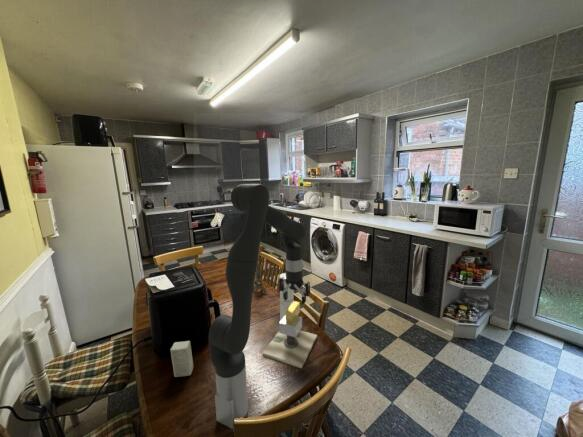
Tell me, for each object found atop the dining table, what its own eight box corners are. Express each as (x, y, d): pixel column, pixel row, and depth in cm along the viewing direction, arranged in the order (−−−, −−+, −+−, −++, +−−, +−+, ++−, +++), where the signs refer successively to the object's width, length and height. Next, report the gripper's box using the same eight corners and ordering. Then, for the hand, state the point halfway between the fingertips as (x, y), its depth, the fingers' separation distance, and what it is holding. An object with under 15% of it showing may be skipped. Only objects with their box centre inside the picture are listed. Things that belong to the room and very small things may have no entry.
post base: (301, 368, 93) (301, 343, 91) (262, 355, 100) (261, 331, 98) (317, 337, 111) (317, 315, 109) (283, 327, 118) (282, 307, 116)
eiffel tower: (249, 290, 158) (247, 255, 153) (264, 287, 162) (263, 252, 158) (253, 297, 148) (251, 260, 144) (269, 294, 152) (267, 257, 148)
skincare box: (193, 366, 95) (191, 340, 93) (190, 376, 90) (187, 348, 88) (177, 368, 94) (174, 341, 92) (173, 377, 90) (169, 349, 88)
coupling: (295, 337, 99) (295, 316, 98) (279, 332, 103) (279, 312, 101) (304, 322, 109) (304, 303, 107) (289, 319, 112) (289, 299, 110)
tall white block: (292, 324, 121) (291, 279, 116) (278, 322, 122) (277, 278, 118) (294, 316, 128) (294, 273, 123) (282, 315, 129) (281, 272, 125)
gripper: (275, 268, 103) (276, 302, 106) (306, 273, 97) (306, 309, 100) (283, 262, 110) (284, 294, 113) (312, 267, 104) (312, 300, 107)
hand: (294, 301), depth 106 cm, fingers open, 8 cm apart
